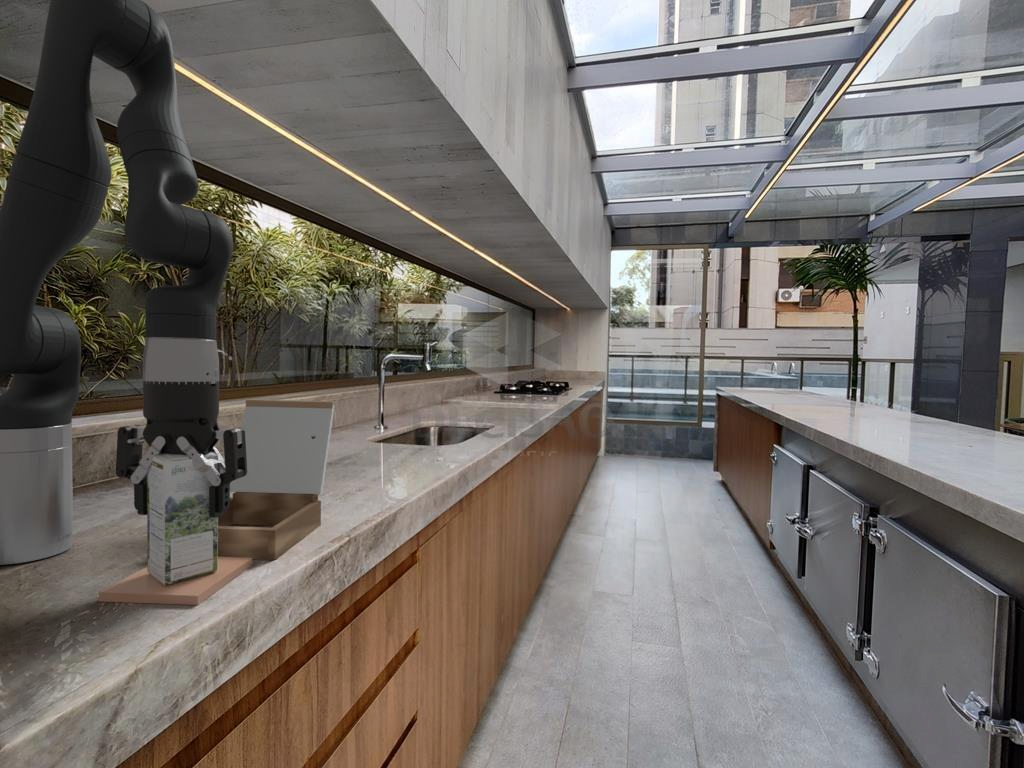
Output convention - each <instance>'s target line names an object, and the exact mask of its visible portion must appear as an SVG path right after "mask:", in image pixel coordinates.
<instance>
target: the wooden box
mask: <svg viewBox="0 0 1024 768" xmlns="http://www.w3.org/2000/svg"><path fill="white" fill-rule="evenodd" d="M311 437H312V439H314V438H315V436H311ZM321 519H322V501H321V500H319V495H315V494H288V493H254V492H232V497H230V506H229V508H228V510H226V512H225V514H223V515H221V516H219V517H218V557H247V558H253V560H263V561H264V560H267V561H268V560H269V561H270V560H271V561H276V560H277V559H278V558H280V557H281V556H283V555H284V554H285V553H287V551H289V550H290V549H292V548H293V547H295V546H296V545H297V544H298V543H299V542H301V541H302V540H303V539H304V538H306V537H307V536H309V535H310V534H311V533H313V531H315V530H316V529H318V528H319V527H320V526H321V524H322V522H321V521H322V520H321ZM243 524H244V525H245V524H247V525H248V526H234V525H243ZM232 525H233V526H232ZM249 525H250V526H249ZM258 526H260V527H258ZM262 526H272V527H262Z"/></svg>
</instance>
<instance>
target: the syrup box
mask: <svg viewBox="0 0 1024 768" xmlns="http://www.w3.org/2000/svg"><path fill="white" fill-rule="evenodd" d="M154 456H155V457H153V462H152V464H151V467H150V469H149V472H148V475H147V515H146V517H147V523H146V524H147V525H146V528H147V534H146V535H147V536H146V537H147V538H146V539H147V542H146V543H147V544H146V545H147V549H146V550H147V551H146V553H147V556H146V558H147V560H146V561H147V566H148V567H147V566H146V567H147V570H148V572H149V574H150V575H152V576H153V577H154V578H155V579H157V580H158V581H160V582H161V583H162V584H164V585H169V584H172V583H176V582H180V581H183V580H187V579H190V578H194V577H197V576H201V575H204V574H208V573H211V572H215V571H217V569H218V517H210V516H209V487H210V486H213V485H212V484H211V483H210V481H209V480H208V478H207V477H206V476H205V474H204V473H203V472H200V471H198V470H197V468H196V467H195V465H194V464H193V463H192V459H189V457H188V456H187V455H179V454H159V455H154ZM203 456H204V457H205V458H206V459H208V460H210V459H213V458H214V459H216V460H218V455H216V454H215V453H213V452H210V453H209V454H206V455H203ZM214 467H215V468H216V470H217V471H218V464H216V465H214Z"/></svg>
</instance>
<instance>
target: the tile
mask: <svg viewBox="0 0 1024 768" xmlns="http://www.w3.org/2000/svg"><path fill="white" fill-rule="evenodd" d="M253 560H254V559H253V558H247V557H218V569H217V571H215V572H211V573H208V574H204V575H201V576H197V577H194V578H190V579H187V580H183V581H180V582H176V583H172V584H169V585H164V584H162V583H161V582H160V581H158V580H157V579H155V578H154V577H153V576H152V575H150V574H149V572H148V570H147V567H148V565H146V567H143V568H142V569H140V570H138V571H136V572H134V573H132V574H130V575H128V576H127V577H125V578H123V579H120V580H119V581H118V582H115V583H113V584H112V585H110V586H108V587H106V588H104V589H102V590H100V591H98V602H105V603H106V602H110V603H131V604H132V603H133V604H135V603H136V604H137V603H139V604H161V605H164V604H165V605H185V606H190V605H191V606H198V605H200V604H201V603H203V602H204V601H206V599H208V598H210V597H211V596H212V595H214V594H215V593H216V592H218V591H220V590H221V589H222V588H224V587H225V586H226V585H227V584H229V583H231V582H232V581H233V580H235V579H236V578H238V576H240V575H241V574H243V573H244V572H245V571H247V570H248V569H249V568H251V567H253Z"/></svg>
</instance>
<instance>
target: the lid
mask: <svg viewBox="0 0 1024 768" xmlns="http://www.w3.org/2000/svg"><path fill="white" fill-rule="evenodd" d="M244 408H245V409H244V412H243V413H244V414H243V418H242V423H241V428H243V429H244V430H245V441H246V458H247V474H246V476H244V477H241V478H238V479H236V480H234V481H232V482H231V483H230V493H235V492H254V493H288V494H315V495H318V496H320V495H323V491H324V489H323V488H324V481H325V476H326V475H325V474H326V470H327V464H328V457H329V456H328V455H329V454H328V453H329V448H330V441H331V434H332V433H331V432H332V426H333V420H334V412H335V409H336V401H331V400H330V401H326V400H325V401H321V400H320V401H319V400H280V399H279V400H277V399H245V407H244ZM311 436H315V438H314V439H312V437H311Z"/></svg>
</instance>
